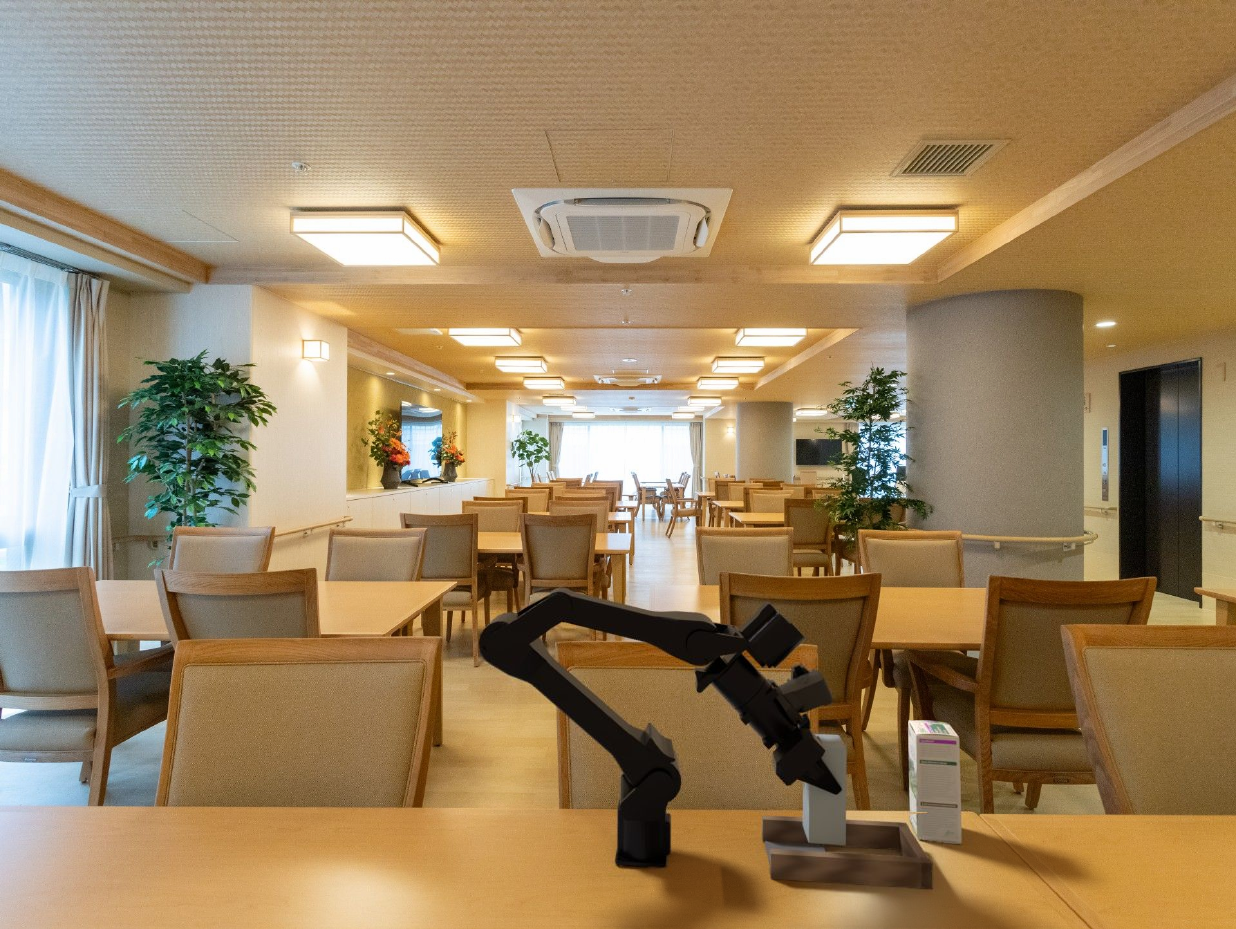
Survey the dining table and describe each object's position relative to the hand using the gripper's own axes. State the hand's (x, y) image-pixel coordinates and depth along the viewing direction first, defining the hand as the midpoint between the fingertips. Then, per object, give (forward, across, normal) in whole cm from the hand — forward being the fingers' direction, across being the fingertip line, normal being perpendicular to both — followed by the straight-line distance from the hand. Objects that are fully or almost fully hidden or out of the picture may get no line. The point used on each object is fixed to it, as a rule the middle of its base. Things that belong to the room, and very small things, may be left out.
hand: (835, 783), depth 89 cm
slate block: (+4, 0, +6) cm, 7 cm away
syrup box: (+18, +9, -4) cm, 20 cm away
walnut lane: (+8, 0, +6) cm, 10 cm away
